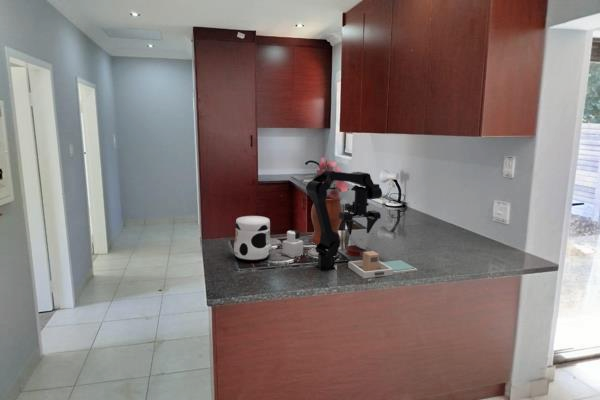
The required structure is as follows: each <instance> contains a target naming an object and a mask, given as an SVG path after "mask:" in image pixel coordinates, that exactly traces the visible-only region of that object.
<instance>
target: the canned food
mask: <svg viewBox="0 0 600 400" xmlns="http://www.w3.org/2000/svg"><path fill="white" fill-rule="evenodd" d="M349 239H350V241H351V243H353V244H351V245H347V246H346V253H345V254H346V255H347V254H348V255H347V256H349V255H350V256H349V257H354V258H363V252H368V248H367V247H366V246H365V245H363V244H362V243H360V242H359V241H357V240H356V239H354V238H353V237H352V236H351V235H349Z"/></svg>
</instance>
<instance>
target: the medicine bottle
mask: <svg viewBox="0 0 600 400" xmlns="http://www.w3.org/2000/svg"><path fill="white" fill-rule="evenodd" d="M300 236H301V234H300V231H299V230H297V229H290V230H287V231H286V239H285V240H283V241H282V253H286V254H290V255H293V256H299V257H302V256H304V240H300V239H301V238H300ZM301 255H302V256H301Z"/></svg>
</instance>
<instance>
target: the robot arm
mask: <svg viewBox="0 0 600 400" xmlns="http://www.w3.org/2000/svg"><path fill="white" fill-rule="evenodd" d="M314 177H315V176H314ZM314 177H313V178H312V180H310V181H309V182H307V185H306V186H305V187H306V188H305V190H306V193H307V195H308V198H310V200H311V201H312V203H314V205H315V209H316V213H317V217H318V221H319V224H320V228H321V236H320V243H319V244H318V245H316V246H315V252H316V253H317V264H315V266H316V267H317V268H318V269H319V270H320V271H331V270H336V267H335V262H336V258H335V257H336V256H337V255H338V252H339V248H340V247H341V243H340V242H342V240H341V241H340V239H339V236H340V233H339V232H338V233H339V234H338V233H336V232H333V230H332V226H331V222H330V218H329V214H328V210H327V206H326V202H325V200H326V197H327V195H328V192H327V191H328V190H330V189H329V188H331V187H332V185H331V184H333V183H334V182H335V181H336V182H337V181H344V182H346V183H348V182H349V183H352V184H354V186H353V187H351V189H350V190H351V191H352V192H353V191H354V201H352V204H350V203H345V204H344V209H343V210H344V211H343V212H340V214H339V218H340V219H342V221H343V222H344V223H345V225H346V228H347V232H348V235H349V236H351V235H352V231H353V224H354V221H353V219H356V218H357V219H358V218H366V221H367V222H366V233H367V234H369V233H370V231H371V230H372V228H373V226H374V225H375V224H376V222H377V221H378V220H379V219H381V212H380V211H377V210H374V209H373V210H367V209H368V206H369V205H370V204H369V203H368V200H378V199H381V198H382V196H383V191H382V188H381V187H380V184H379V183H374V181H373V179H372V176H371V174H370V173H368V172H362V171H353V172H342V171H340V172H335V171H334V170H333V171H330V170H326V171H324V172H323V173H322V174H321V175H319V176H317V177H315V178H314ZM334 180H335V181H334ZM324 181H325V182H324ZM333 181H334V182H333ZM332 182H333V183H332Z"/></svg>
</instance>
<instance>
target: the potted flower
mask: <svg viewBox="0 0 600 400" xmlns="http://www.w3.org/2000/svg"><path fill="white" fill-rule="evenodd" d="M337 165H338V163H337V160H333V161H332V160H331V161H328V160H327V159H326V157H325V156H322V157H321V158H320V162H319V167H318V168H317V170H316V175H314V177H313V179H314V178H315V177H317V176H319V175H321V174H322V173H323V172H324V171H326V170H330V171H335V172H341V170H342V167H341V166H337ZM335 166H337V167H336V168H335V169H334V167H335ZM324 182H325V181H324ZM335 182H336V183H335ZM333 183H334V184H333ZM332 184H333V187H330V188H329V189H328V190H330V191H329V194H327V197H326V200H325V202H326V206H327V210H328V214H329V218H330V222H331V226H332V230H333V232H336V233H338V234H339V239H340V241H341V242H342V240H341V239H342V237H341V235H340V233H339V230H340V227H341V223H342V221H343V220H342V219H340V218H339V214H340V212H344V209H343V205H342V200H343V197H342V196H340V193H345V192H347V191H349V190H350V189H349V183H348V182H347V181H337V180H334V181H333V182H332ZM332 184H331V186H332ZM312 203H313V204H312V207H311V212H310V215H311V217H310V218H311V222H312V225H313V230H314V231H313V233H312V234H311V236H310V242H311V241H312V242H313V243H315V244H319V243H320V236H321V228H320V224H319V221H318V217H317V213H316V209H315V205H314V202H312ZM341 242H340V244H341ZM315 244H314V245H315Z"/></svg>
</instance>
